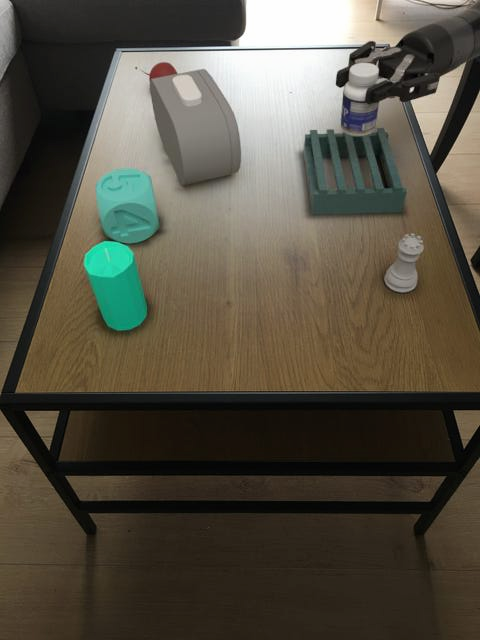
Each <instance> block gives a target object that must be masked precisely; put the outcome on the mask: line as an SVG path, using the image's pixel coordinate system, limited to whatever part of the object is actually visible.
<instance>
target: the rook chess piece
mask: <svg viewBox="0 0 480 640" xmlns="http://www.w3.org/2000/svg"><path fill="white" fill-rule="evenodd" d="M415 235H416V234H415V233H410V235H409V233H407V234H404V236H403V237H402V238H401V239H399V241H398V243H397V247H398V248H399V249H398V250H397V257H396V260H395V262H393V263H392V265H390V266H389V267H388V268H387V269H386V271H385V274H384V279H383V281H384V282H385V285H386V286H387V287H388V288H389V289H390V290H391V291H393V292H396V293H399V294H400V293H401V294H403V293H408V292H409V293H410V292H411V291H412V290H415V288H416V286H417V284H418V279H419V276H418V275H419V273H418V272H417V268H416V266H417V265H416V264H417V261H418V259H419V258H420V254H421V253H423V251H424V250H425V245H424V242H423V241H424V240H423V239H422V236H420V235H417V236H415Z"/></svg>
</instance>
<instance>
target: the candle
mask: <svg viewBox="0 0 480 640" xmlns="http://www.w3.org/2000/svg"><path fill="white" fill-rule="evenodd" d="M83 266H84V269H85V273H86V275H87V278H88V281H89V284H90V286H91V289H92V291H93V294H94V297H95V299H96V302H97V305H98V308H99V311H100V313H101V316H102V318H103V320H104V323H105V324H106V326H107V327H108V328H110V329H113V330H115V331H119V332H120V331H130V330H132V329H135V328H136V327H138V326H141V324H142V323H143V322H144V321H145V319H146V318H147V315H148V306H147V301H146V298H145V294H144V290H143V286H142V282H141V278H140V273H139V270H138V265H137V262H136V257H135V254H134V252H133V251H132V249H131V248H130V247H129V246H128V245H125V244H124V243H122V242H118V241H111V240H104V241H102V242H100V243H98V244H96V245H94V246H92V247H91V248H90V250H89V251H88V252H86V253H85V255H84V260H83Z"/></svg>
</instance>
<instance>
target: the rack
mask: <svg viewBox="0 0 480 640" xmlns="http://www.w3.org/2000/svg"><path fill="white" fill-rule="evenodd" d="M376 156H377V157H379V162H380V165H381V167H382V168H381V169H382V171H383V175H384V178H385V181H386V186H387V188H385V186H384V183H383V181H382V176H381V173H380V170H379V166H378V163H377V159H376ZM341 157H345V158H346V157H348V161H349V165H350V170H351V175H352V179H353V183H354V188H353V189H350V188H349V189H347V186H346V185H347V184H346V181H345V176H344V172H343V167H342V166H343V165H342V161H341ZM359 157H365V159H366V163H367V166H368V169H369V174H370V177H371V182H372V185H373V188H366V187H365V183H364V182H365V181H364V179H363V175H362V170H361V166H360V163H359ZM323 158H330V161H331V165H332V170H333V174H334V175H333V176H334V180H335V181H334V182H335V185H336V189H328V184H327V179H326V173H325V167H324V161H323ZM303 161H304V169H305V176H306V182H307V187H308V188H307V190H308V196H309V203H310V210H311V211H310V212H311V215H312V216H317V215H318V216H319V215H321V216H322V215H324V216H325V215H355V214H357V215H359V214H362V215H363V214H390V213H392V214H396V213H402V212H403V209H404V204H405V201H406V197H407V195H408V194H407V193H408V190H407V188H406V187H403V184H402V181H401V177H400V175H399V171H398V168H397V165H396V161H395V158H394V154H393V153H392V149H391V146H390V143H389V132H388V131H386V129H385V127H376V129H375V131H373V132H372V133H371V134H369V135H366V136H351V135H348V134H346V133H345V132H343V131H342V133H341V132H340V133H339V132H338V133H335V129H334V128H328V129H326V133H319V132H318V129H309V133H308V134H307V133H305V134H304V142H303Z"/></svg>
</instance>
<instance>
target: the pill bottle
mask: <svg viewBox="0 0 480 640" xmlns="http://www.w3.org/2000/svg"><path fill="white" fill-rule="evenodd" d="M378 75H379V69H378V65H374V64H370V63H359V64H355V65H353V66H352V67H351V68H350V71H349V81H348V82H347V83H346V84H345V86H344V87H343V89H342V103H341V113H340V114H341V115H340V130H341V131H342V133H343V132H345V133H346V134H348V135H351V136H366V135H369V134H371V133H372V132H375V131H376V129H377V123H378V122H377V121H378V112H379V106H380V102H378V103H373V104H371V105H368V104H367V103H365V96H366V91H367V89H368V88H369V87H371V86H374V85H376V84H378V83H379V82H378V80H379V79H378Z"/></svg>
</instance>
